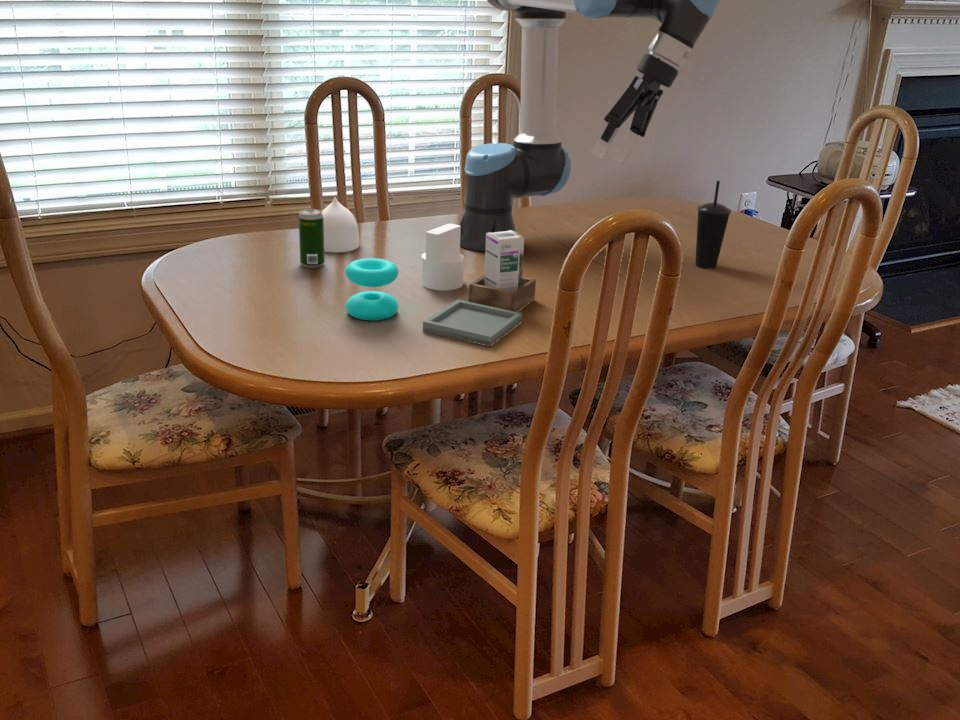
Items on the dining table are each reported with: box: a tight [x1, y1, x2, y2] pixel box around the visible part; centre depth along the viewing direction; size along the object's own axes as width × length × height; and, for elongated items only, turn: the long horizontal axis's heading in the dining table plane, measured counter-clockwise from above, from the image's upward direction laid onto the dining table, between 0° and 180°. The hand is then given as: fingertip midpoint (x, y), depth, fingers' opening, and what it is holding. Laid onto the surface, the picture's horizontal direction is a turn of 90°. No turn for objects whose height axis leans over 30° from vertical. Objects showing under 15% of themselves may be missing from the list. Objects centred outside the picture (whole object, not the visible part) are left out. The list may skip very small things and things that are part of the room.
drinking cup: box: [694, 180, 732, 269], centre depth 214 cm, size 8×8×20 cm
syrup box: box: [484, 230, 525, 292], centre depth 186 cm, size 6×6×14 cm
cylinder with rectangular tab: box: [420, 222, 465, 291], centre depth 196 cm, size 9×9×12 cm
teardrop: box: [321, 196, 360, 254], centre depth 218 cm, size 11×11×12 cm
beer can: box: [298, 208, 326, 269], centre depth 204 cm, size 5×5×12 cm
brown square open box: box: [468, 274, 537, 312], centre depth 188 cm, size 10×10×4 cm
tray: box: [422, 299, 523, 347], centre depth 176 cm, size 14×14×2 cm
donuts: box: [345, 257, 399, 322], centre depth 179 cm, size 10×10×10 cm
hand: (607, 158), depth 186 cm, fingers open, 13 cm apart
